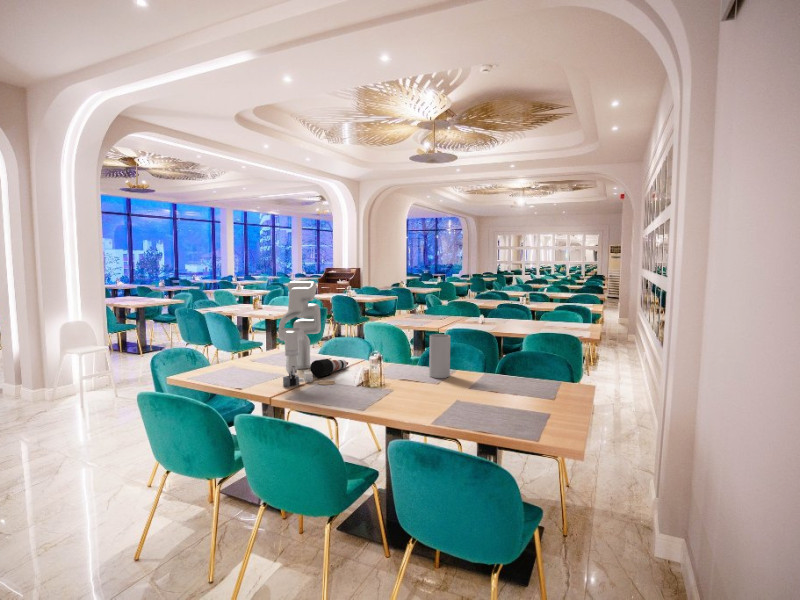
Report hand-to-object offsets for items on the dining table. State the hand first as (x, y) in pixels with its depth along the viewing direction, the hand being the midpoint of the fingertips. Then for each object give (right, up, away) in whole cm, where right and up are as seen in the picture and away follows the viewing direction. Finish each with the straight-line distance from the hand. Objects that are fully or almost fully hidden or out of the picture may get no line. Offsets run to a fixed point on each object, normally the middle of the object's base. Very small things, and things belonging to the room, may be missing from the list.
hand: (292, 384), depth 257 cm
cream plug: (+7, 0, +9) cm, 12 cm away
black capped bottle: (+18, +2, +30) cm, 36 cm away
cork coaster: (+18, 0, +5) cm, 19 cm away
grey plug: (0, 0, 0) cm, 1 cm away
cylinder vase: (+85, +1, +22) cm, 88 cm away
